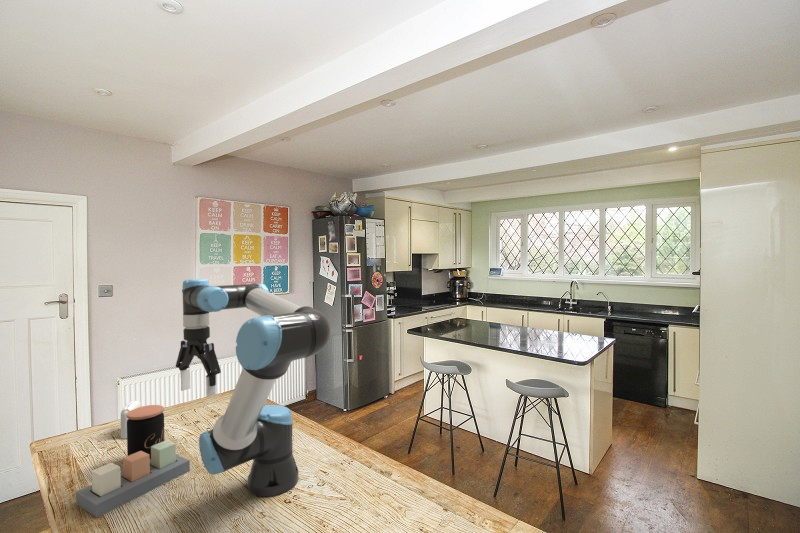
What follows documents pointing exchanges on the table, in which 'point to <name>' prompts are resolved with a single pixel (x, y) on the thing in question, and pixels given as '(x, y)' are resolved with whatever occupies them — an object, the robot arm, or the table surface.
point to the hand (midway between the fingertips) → (198, 392)
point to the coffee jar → (144, 428)
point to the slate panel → (130, 488)
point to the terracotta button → (136, 466)
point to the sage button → (163, 454)
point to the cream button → (106, 479)
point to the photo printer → (124, 418)
